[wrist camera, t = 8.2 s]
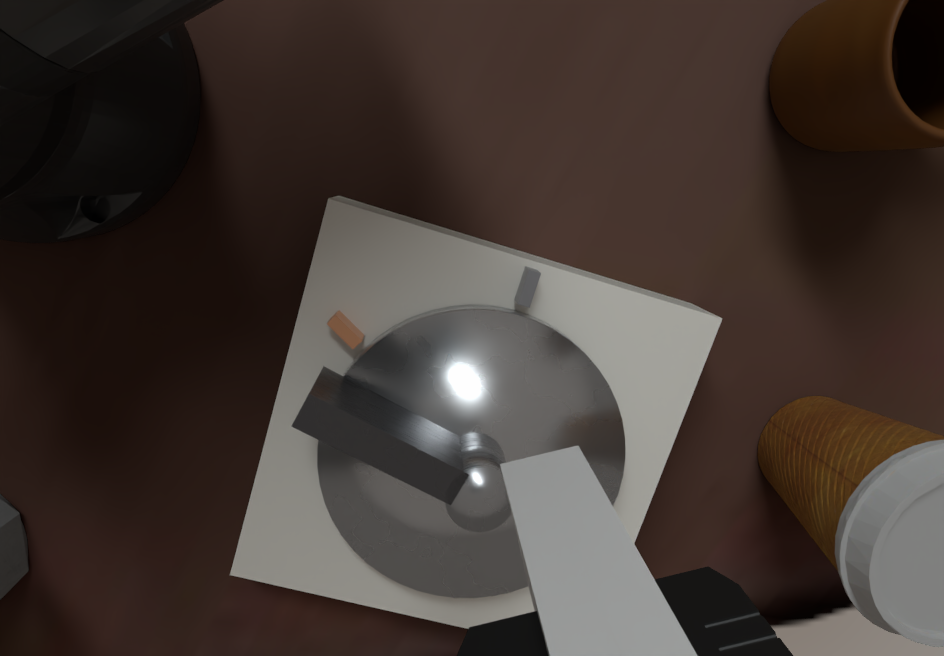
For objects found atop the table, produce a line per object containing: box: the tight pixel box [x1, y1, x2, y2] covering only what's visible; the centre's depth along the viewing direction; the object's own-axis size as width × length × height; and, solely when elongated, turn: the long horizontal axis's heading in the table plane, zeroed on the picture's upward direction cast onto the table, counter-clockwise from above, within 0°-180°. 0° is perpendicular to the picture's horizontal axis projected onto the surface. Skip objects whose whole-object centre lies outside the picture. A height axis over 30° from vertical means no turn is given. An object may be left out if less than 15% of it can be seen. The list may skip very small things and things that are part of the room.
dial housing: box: [230, 196, 722, 629], centre depth 36 cm, size 20×20×5 cm
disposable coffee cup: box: [758, 396, 944, 647], centre depth 34 cm, size 10×10×12 cm
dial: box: [291, 304, 625, 598], centre depth 31 cm, size 16×15×5 cm
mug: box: [769, 0, 944, 152], centre depth 31 cm, size 12×8×9 cm, turn 90°
